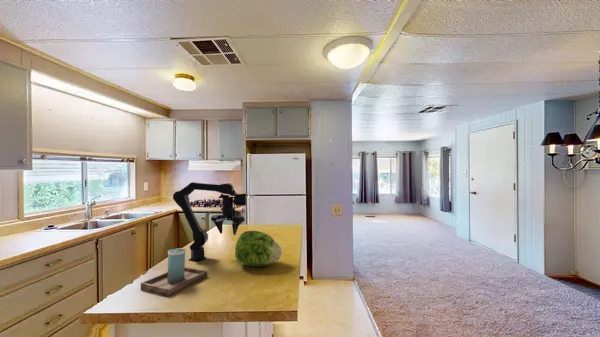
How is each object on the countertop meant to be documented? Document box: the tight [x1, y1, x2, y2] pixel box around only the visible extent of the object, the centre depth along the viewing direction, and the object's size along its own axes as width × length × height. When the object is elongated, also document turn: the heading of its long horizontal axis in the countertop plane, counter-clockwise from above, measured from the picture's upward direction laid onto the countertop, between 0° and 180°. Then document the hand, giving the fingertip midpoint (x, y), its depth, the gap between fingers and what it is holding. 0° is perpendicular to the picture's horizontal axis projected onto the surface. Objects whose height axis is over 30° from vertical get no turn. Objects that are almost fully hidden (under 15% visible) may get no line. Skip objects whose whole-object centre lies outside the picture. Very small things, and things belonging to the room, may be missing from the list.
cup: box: [167, 247, 186, 283], centre depth 108 cm, size 7×7×12 cm
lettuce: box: [234, 230, 282, 267], centre depth 128 cm, size 17×23×17 cm
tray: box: [140, 266, 208, 298], centre depth 108 cm, size 16×20×2 cm
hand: (227, 234), depth 139 cm, fingers open, 9 cm apart
